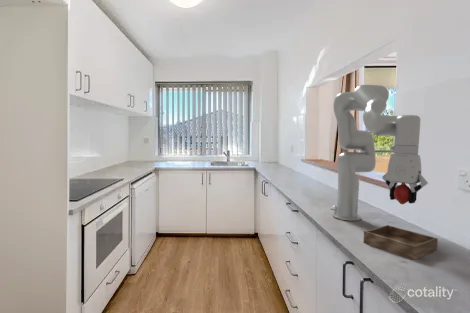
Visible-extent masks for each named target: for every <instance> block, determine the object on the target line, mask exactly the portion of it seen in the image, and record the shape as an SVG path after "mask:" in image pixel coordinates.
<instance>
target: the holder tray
mask: <svg viewBox="0 0 470 313" xmlns="http://www.w3.org/2000/svg"><path fill="white" fill-rule="evenodd" d="M438 240H439V239H438V238H437V237H433V236H430V235H426V234H421V233H418V232H415V231H412V230H407V229H403V228H400V227H396V226H392V225H389V224H388V225H383V226H379V227H375V228H372V229H368V230H365V231H363V240H362V241H363V243H364V244H367V245H370V246H372V247H375V248H378V249H382V250H384V251H388V252H390V253H394V254H396V255H399V256H403V257H406V258H408V259H412V260H417V259H419V258H422V257H425V256H426V255H428V254H431V253H434V252H436V251H437V249H438Z"/></svg>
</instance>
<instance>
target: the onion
mask: <svg viewBox="0 0 470 313" xmlns="http://www.w3.org/2000/svg"><path fill="white" fill-rule="evenodd" d="M409 192H411V189H410V186H409V185H408V184H406V183H401V184H399V185H396V188H395V190H394V197H395V199H394V200H396V201H397V202H398V203H399V204H400V205H405V204H407V203H409Z"/></svg>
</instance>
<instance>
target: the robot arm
mask: <svg viewBox="0 0 470 313" xmlns="http://www.w3.org/2000/svg"><path fill="white" fill-rule="evenodd" d="M389 96H390V94H389V90H388V89H387V87H385V86H383V85H378V84H361V85H358V86H357V87H356V88H354V90H353V91H343V92H340V93H338V94H337V95H336V96H335V97H334V101H333V113H334V116H335V118H336V123H337V133H338V134H337V135H338V136H337V137H338V145H339V147H340V148H341V149H343V150H347V151H345V152H341V153H340V154H339V155H338V156H337V159H336V165H337V173H338V174H337V175H338V176H337V178H338V179H337V195H336V196H337V197H336V205H331V207H330V210H331V211H334V212H333V213H332V217H333V218H335V219H337V220H341V221H350V222H356V221H357V222H358V221H360V220H361V219H362V218H361V216H360V215H359V214H358V208H359V195H360V194H359V193H360V192H359V191H360V180H359V178H358V176H357V175H356V173H371V172H372V171H374V169H375V168H376V163H377V162H376V150H375V141H374V136H373V135H376V136H380V137H381V136H387V137H394V144H393V146H390V151H392V153H391V154H390V157H389V161H388V165H387V169H386V170H387V171H386V173H385V174H384V175H382V177H381V179H382V180H383V181H384V182H385V184H386V185H387V186H388V188H389V200H392V201H393V200H396V199H395V197H394V190H395V188H396V187H397V186H398V184H399V183H405V184H406V185H408V186H409V188H410V189H411V192H409V201H408V203H409V204H415V203H416V201H417V195H418V194H417V193H418V192H419V191H420V190H421V189H423V188H424V187H425V186H427V185H428V184H429V182H428V181H427V180H426V179H425V177H424V176H423V175H422V159H421V156H420V154H419V147H420V132H421V117H420V116H419V115H417V114H416V115H415V114H402V115H388V114H387V115H383V113H384V112H385V110H386V109H387V101H388V100H389ZM350 111H357V112H363V114H362V121H363V124H364V126H365V127H366V128H367V130H361V129H360V130H358V127H357V121H356V118H355V117H354V115H353V114H352V113H351V112H350ZM381 114H382V115H381ZM372 134H373V135H372ZM348 150H350V151H348ZM351 150H352V151H351ZM353 150H354V151H353ZM418 183H419V184H418Z"/></svg>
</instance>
